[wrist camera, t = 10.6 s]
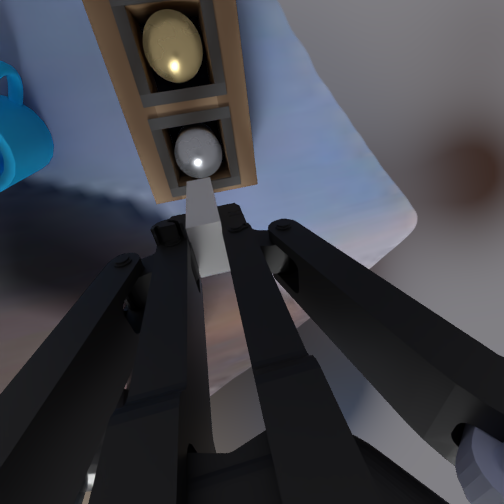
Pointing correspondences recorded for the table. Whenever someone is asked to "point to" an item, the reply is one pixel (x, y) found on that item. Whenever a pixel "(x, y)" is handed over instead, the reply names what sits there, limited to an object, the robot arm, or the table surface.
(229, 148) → the socket block
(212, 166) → the steel peg
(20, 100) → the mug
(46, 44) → the table surface
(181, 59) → the brass peg
